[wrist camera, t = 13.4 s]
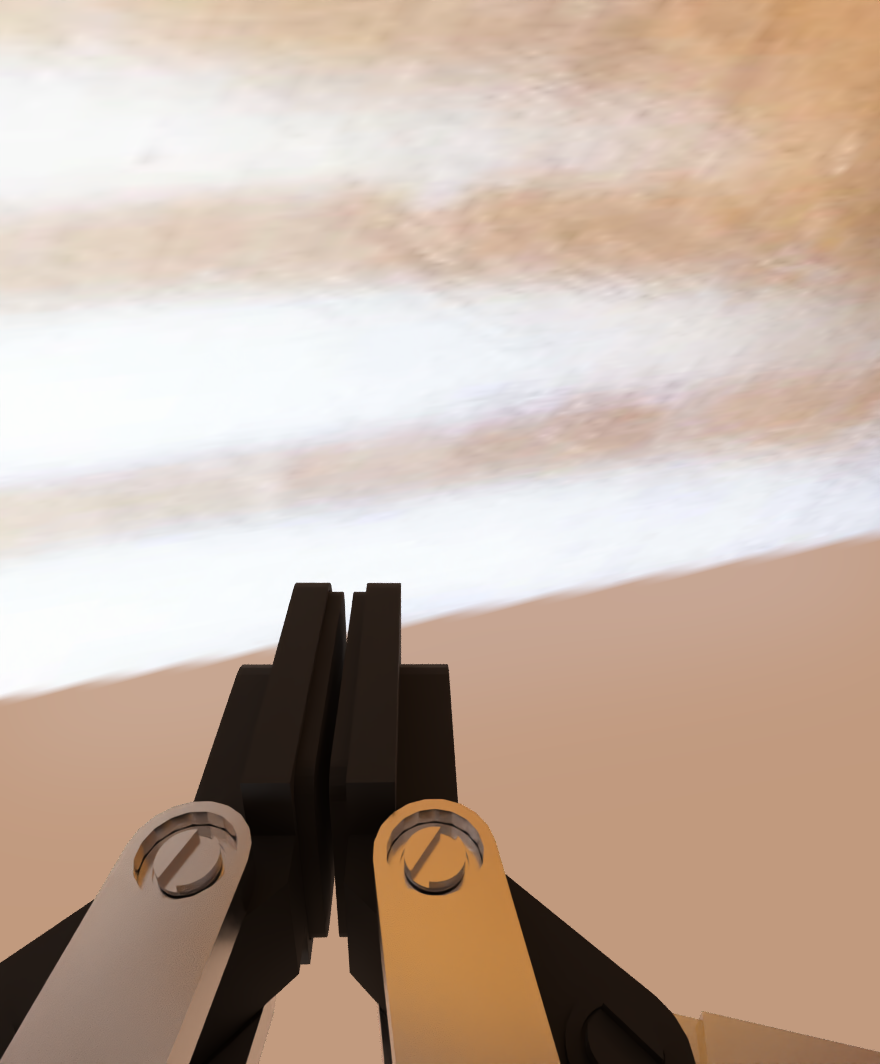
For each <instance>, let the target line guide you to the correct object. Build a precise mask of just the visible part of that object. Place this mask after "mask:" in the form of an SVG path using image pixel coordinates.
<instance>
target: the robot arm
mask: <svg viewBox="0 0 880 1064" xmlns="http://www.w3.org/2000/svg"><path fill="white" fill-rule="evenodd" d="M449 682H450V681H449V669H448V665H447V664H414V665H413V664H406V665H405V664H401V583H367V588H366V592H354V593H353V600H352V608H351V615H350V622H349V630H348V637H347V641H346V620H345V599H344V592H332V587H331V584H330V583H296V584H295V586H294V589H293V592H292V596H291V600H290V603H289V607H288V611H287V614H286V618H285V622H284V625H283V629H282V632H281V636H280V640H279V643H278V647H277V651H276V654H275V658H274V662H273V665H242V666H241V667H240V669H239V671H238V673H237V675H236V678H235V682H234V684H233V687H232V690H231V693H230V696H229V699H228V702H227V705H226V708H225V711H224V714H223V717H222V720H221V723H220V726H219V729H218V732H217V735H216V738H215V740H214V744H213V747H212V749H211V752H210V755H209V758H208V761H207V764H206V767H205V770H204V773H203V776H202V779H201V782H200V785H199V788H198V791H197V794H196V797H195V800H194V802H190V803H186V804H182V805H178V806H175V807H172V808H171V809H168V810H166V811H164V812H163V813H160V814H158V815H156V816H155V817H154V818H152V819H151V820H150V821H149V822H147V823H146V824H145V825H144V826H142V827H141V828H140V829H139V830H138V831H137V833H136V834H135V835H134V836H133V838H132V839H131V840H130V841H129V843H128V844H127V845H126V847H125V849H124V850H123V852H122V854H121V855H120V857H119V859H118V860H117V862H116V864H115V865H114V868H113V869H112V871H111V872H110V874H109V876H108V877H107V879H106V881H105V883H104V884H103V886H102V888H101V889H100V891H99V893H98V894H97V896H96V898H95V899H94V900H93V901H91V902H90V903H88V904H87V905H85V906H84V907H82V908H81V909H79V910H78V911H77V912H75V913H73V914H72V915H70V916H69V917H67V918H66V919H64V920H63V921H61V922H60V923H59V924H57V925H56V926H54V927H53V928H51V929H50V930H48V931H47V932H45V933H44V934H42V935H41V936H40V937H38V938H36V939H35V940H33V941H32V942H30V943H29V944H27V945H26V946H25V947H23V948H22V949H20V950H19V951H17V952H16V953H14V954H13V955H11V956H10V957H8V958H7V959H5V960H4V961H2V962H1V963H0V1064H259V1061H260V1057H261V1054H262V1050H263V1047H264V1044H265V1041H266V1037H267V1034H268V1030H269V1027H270V1024H271V1021H272V1017H273V1013H274V1007H275V1000H276V994H277V993H278V992H280V991H281V990H282V989H283V988H284V987H285V986H286V985H287V984H288V983H289V982H290V981H292V980H293V979H294V978H295V977H296V976H297V975H298V974H299V970H300V964H310V960H311V952H312V944H313V938H314V937H327V936H328V931H329V923H330V914H331V905H332V895H333V886H334V877H335V885H336V899H337V911H338V926H339V936H340V937H348V950H349V967H350V973H351V975H352V976H353V977H354V978H355V979H356V980H357V981H358V982H359V983H360V984H361V985H362V987H363V988H364V989H365V990H366V991H367V992H368V993H369V994H370V996H371V997H372V998H373V999H374V1000H375V1001H376V1002H377V1005H378V1020H379V1031H380V1040H381V1051H382V1062H383V1064H880V1052H877V1051H873V1050H868V1049H864V1048H860V1047H856V1046H851V1045H847V1044H843V1043H838V1042H834V1041H830V1040H825V1039H821V1038H817V1037H812V1036H808V1035H804V1034H799V1033H795V1032H791V1031H786V1030H782V1029H778V1028H774V1027H769V1026H765V1025H761V1024H756V1023H752V1022H748V1021H743V1020H739V1019H735V1018H730V1017H726V1016H722V1015H717V1014H713V1013H709V1012H704V1011H702V1013H701V1015H700V1018H699V1019H695V1018H691V1017H686V1016H682V1015H678V1014H674V1013H672V1012H671V1011H670V1010H668V1008H667V1007H666V1006H665V1005H664V1004H663V1003H662V1002H661V1001H660V1000H659V999H658V998H657V997H656V996H655V995H654V994H652V993H651V992H650V991H649V990H648V989H646V988H645V987H644V986H643V985H641V984H640V983H639V982H638V981H636V980H635V979H634V978H633V977H631V976H630V975H629V974H628V973H626V972H625V971H624V970H623V969H622V968H620V967H619V966H618V965H617V964H616V963H614V962H613V961H612V960H611V959H609V958H608V957H607V956H606V955H604V954H603V953H602V952H601V951H599V950H598V949H597V948H596V947H594V946H593V945H592V944H591V943H590V942H588V941H587V940H586V939H585V938H583V937H582V936H581V935H580V934H578V933H577V932H576V931H575V930H574V929H572V928H571V927H570V926H569V925H567V924H566V923H565V922H564V921H562V920H561V919H560V918H559V917H558V916H556V915H555V914H554V913H552V912H551V911H550V910H549V909H548V908H546V907H545V906H544V905H543V904H542V903H540V902H539V901H538V900H537V899H535V898H534V897H533V896H532V895H530V894H529V893H528V892H527V891H525V890H524V889H523V888H522V887H521V886H519V885H518V884H517V883H516V882H514V881H513V880H512V879H511V878H509V877H508V876H507V875H506V874H505V872H504V869H503V865H502V862H501V859H500V855H499V851H498V848H497V845H496V841H495V839H494V837H493V835H492V833H491V831H490V829H489V827H488V825H487V824H486V823H485V822H484V821H483V820H482V819H481V818H480V817H479V816H478V814H476V813H475V812H474V811H472V810H470V809H468V808H467V807H465V806H463V805H462V804H459V803H458V797H457V782H456V767H455V753H454V739H453V725H452V710H451V695H450V683H449Z"/></svg>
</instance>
